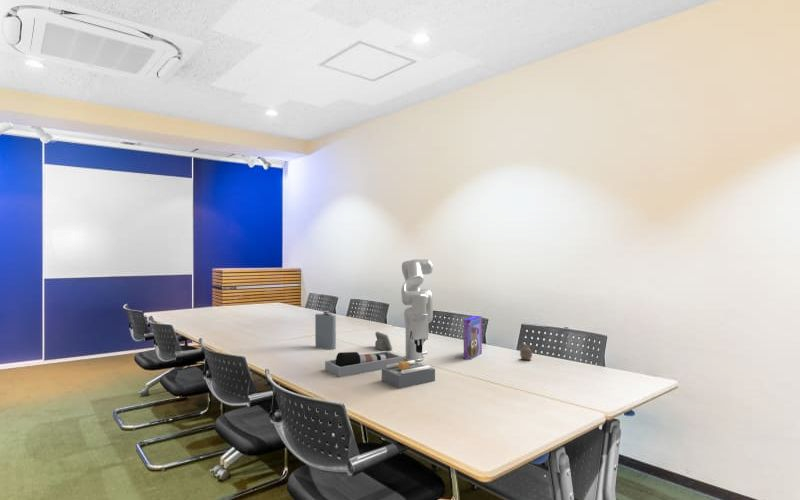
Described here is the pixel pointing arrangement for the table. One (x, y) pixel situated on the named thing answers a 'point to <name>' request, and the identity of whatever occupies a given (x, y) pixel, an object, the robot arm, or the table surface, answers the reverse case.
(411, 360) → the cord
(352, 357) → the cable
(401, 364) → the block
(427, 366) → the cord
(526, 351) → the vase
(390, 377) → the grey slider switch panel
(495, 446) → the table surface
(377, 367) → the grey tray
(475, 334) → the cereal box
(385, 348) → the grey rock
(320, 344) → the flask
